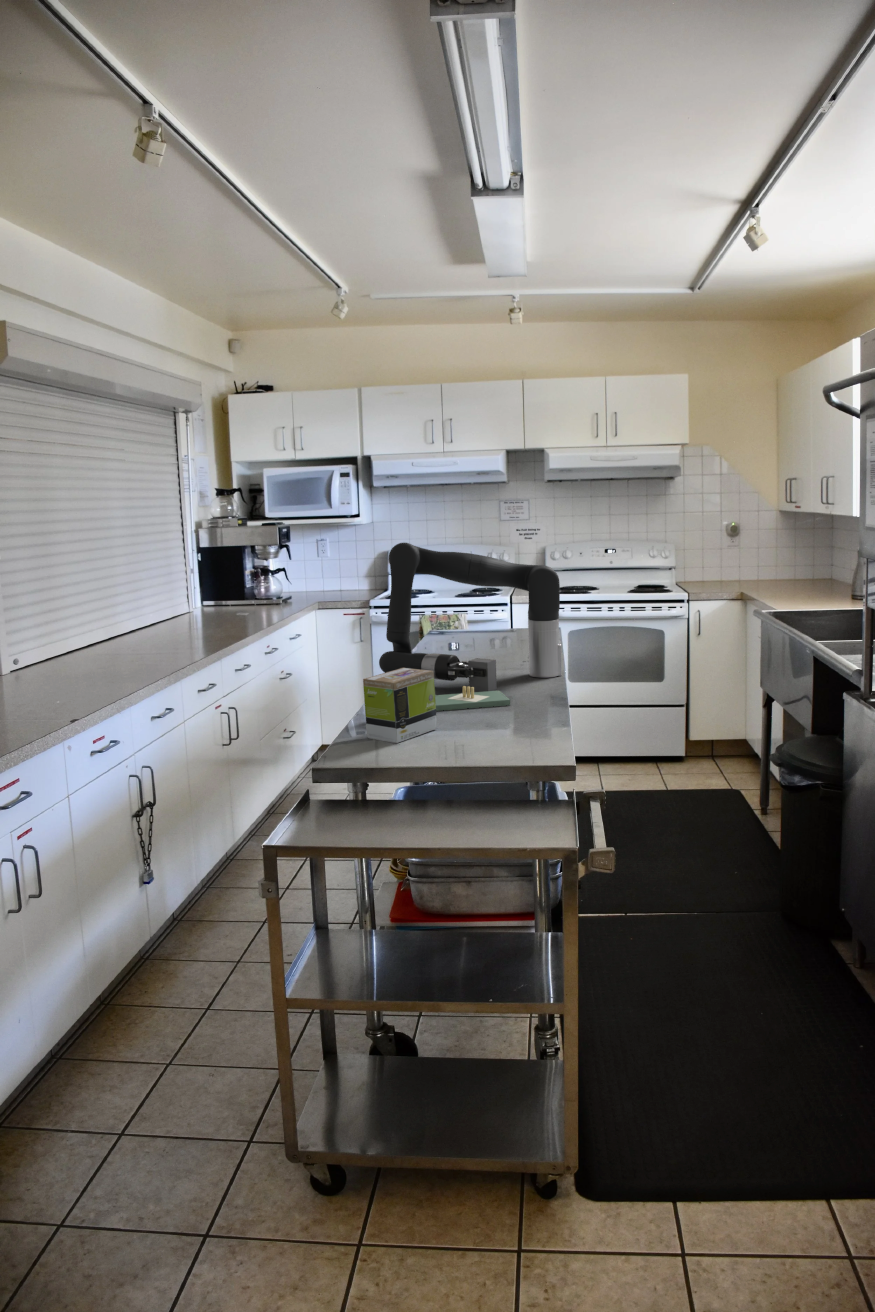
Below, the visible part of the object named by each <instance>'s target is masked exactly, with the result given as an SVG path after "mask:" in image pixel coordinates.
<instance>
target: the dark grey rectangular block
mask: <svg viewBox="0 0 875 1312" xmlns="http://www.w3.org/2000/svg"><path fill="white" fill-rule="evenodd" d="M468 667H473V668H480V669H486V673H487V676H486V677H478V676H474V677H470V676H469V677H468V687H470V693H471V687H474V692H486V691H498V690H497V689H498V688H497V687H498V686H497V660H496V659H491V658H479V657H478V658H477V657H476V658H474V659H473V658H472V659H469V660H468Z"/></svg>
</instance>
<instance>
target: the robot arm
mask: <svg viewBox="0 0 875 1312" xmlns="http://www.w3.org/2000/svg"><path fill="white" fill-rule="evenodd" d="M388 563H389V567H390V569H389V570H390V583H391V584H390V596H389V597H390V598H389V606H388V612H387V622H386V635H385V636H386V640H387V641H388V642H389V643H391V644H392V648H393V650H389V651H385V652H384V653H383V654H382V655H380V658H379V661H378V665H379V669H381V671H382V672H383V673H386V672H390V671H393V670H397V669H400V668H409V669H419V670H430V671H434V680H441V681H450V682H453V681H455V680H457V678H463V679H465V678H466V679H469V676H470V677H474V676H478V677H486V676H487V673H486V669H480V668H473V667H468V661H469V660H468V661H467V660H462V661H460V659H459V657H458V656H457V655H455V654H446V653H424V652H423V653H422V652H414V653H413V652H412V646H411V644H412V643H411V640H410V635H411V633H410V632H411V623H412V622H411V620H412V594H413V593H412V592H413V591H412V590H413V585H414V584H413V583H414V579H415V575H416V574H420V575H428V576H429V575H430V576H435V577H439V578H443V579H444V580H445V579H446V580H448V581H452V582H456V583H459V584H465V585H471V586H478V587H487V588H488V587H489V588H491V587H492V588H493V587H494V588H497V587H504V588H505V587H506V588H513V589H518V590H523V591H526V592H528V610H527V620H528V621H527V625H528V626H527V628H528V629H527V630H528V631H527V632H528V635H527V637H528V676H530V677H534V678H554V677H557V676H562V674H563V673H562V672H563V671H562V669H563V667H562V664H563V663H562V644H561V643H560V623H559V622H560V620H559V619H560V610H561V609H560V608H561V607H560V603H561V602H560V597H561V596H560V594H561V592H560V588H561V587H560V586H561V585H560V584H561V583H560V578H559V574H558V573H557V572H556V571H555V570H554V569H553V568H551V567H550V566H548V565H543V564H525V563H523V564H522V563H515V562H509V561H506V560H504V559H503V560H502V559H499V558H496V557H495V558H494V557H493V556H492V557H491V556H488V555H487V556H486V555H480V554H476V553H469V552H462V551H461V552H458V551H437V550H432V549H428V548H423V547H420V546H416V545H414V544H412V543H410V542H399V543H397V544H395V545H394V546H392V547H391V549H390V550H389V554H388Z"/></svg>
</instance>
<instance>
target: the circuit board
mask: <svg viewBox="0 0 875 1312" xmlns="http://www.w3.org/2000/svg"><path fill="white" fill-rule="evenodd" d="M435 699H436V712H442V711H443V710H444V711H454V710H466V709H467V708H469V709H479V707H482V708H491V707H492V708H493V706H494V707H503V706H505V707H506V705H507V706H511V699H510V698H509V697H507V696H506V695H505V694H504V693H503V692H502V691H500V690H497V691H486V692H474V687H471V692H470V687H469V686H466V685H463V686H462V692H461V693H449V694H438V695H437V694H435Z"/></svg>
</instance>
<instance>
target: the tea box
mask: <svg viewBox="0 0 875 1312" xmlns="http://www.w3.org/2000/svg"><path fill="white" fill-rule="evenodd" d="M362 682H363V685H362V686H363V687H362V688H363V697H364V701H363V702H364V714H365V728H366V729H365V730H366V738H367V739H371V740H374V741H375V740H377V741H381V742H382V741H383V742H385V743H386V742H387V743H393V744H398V743H401V742H403V741H406V740H409V739H412V738H415V737H417V736H420V735H421V736H422V735H423V734H426V733H428V732H432V731H434V730H437V729H438V719H437V718H438V717H437V711H436V699H435V695H436V688H435V687H436V686H435V679H434V671H430V670H419V669H409V668H400V669H397V670H393V671H390V672H386V673H384V672H383V673H380V674H375V675H373V676H370V677H366V678H363V679H362Z"/></svg>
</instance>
